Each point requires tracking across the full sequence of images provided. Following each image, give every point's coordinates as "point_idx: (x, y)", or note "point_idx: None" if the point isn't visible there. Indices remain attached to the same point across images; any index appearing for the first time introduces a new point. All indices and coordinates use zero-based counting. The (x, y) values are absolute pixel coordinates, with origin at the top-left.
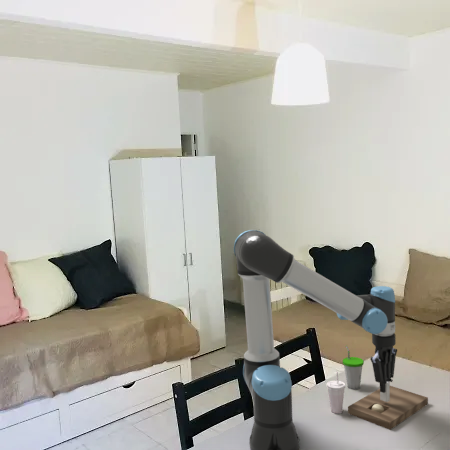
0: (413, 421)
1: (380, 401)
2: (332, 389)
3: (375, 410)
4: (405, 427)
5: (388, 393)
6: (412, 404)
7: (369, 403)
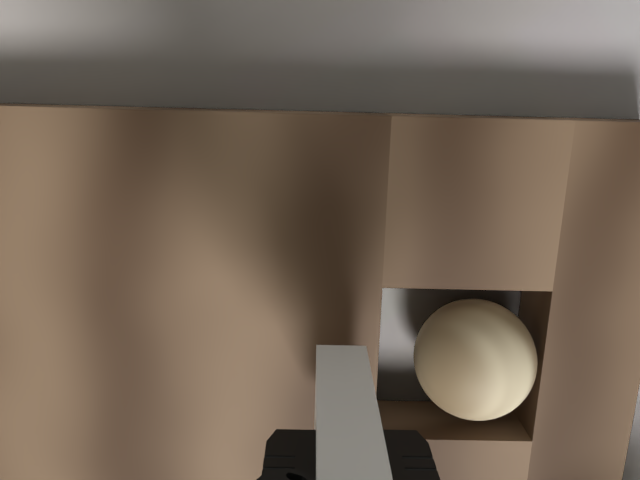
0: (349, 35)
1: None
2: None
3: (535, 359)
4: (509, 35)
5: (345, 391)
6: (150, 150)
7: None
